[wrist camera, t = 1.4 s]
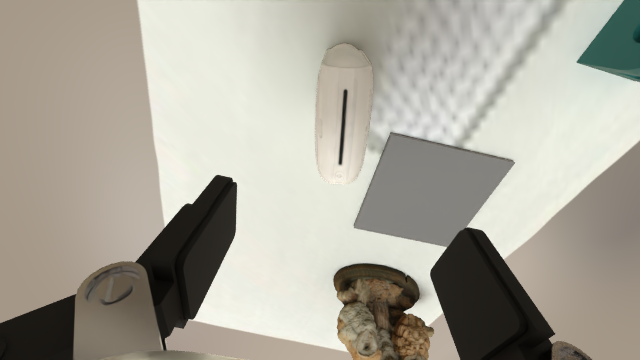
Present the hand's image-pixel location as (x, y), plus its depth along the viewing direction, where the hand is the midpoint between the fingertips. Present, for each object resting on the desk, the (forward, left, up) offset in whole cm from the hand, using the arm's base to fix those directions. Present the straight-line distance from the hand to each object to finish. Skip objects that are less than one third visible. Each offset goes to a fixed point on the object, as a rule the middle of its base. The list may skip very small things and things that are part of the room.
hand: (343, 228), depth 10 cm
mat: (+11, +15, -21) cm, 28 cm away
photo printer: (0, 0, -21) cm, 21 cm away
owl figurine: (+33, +16, -21) cm, 42 cm away
